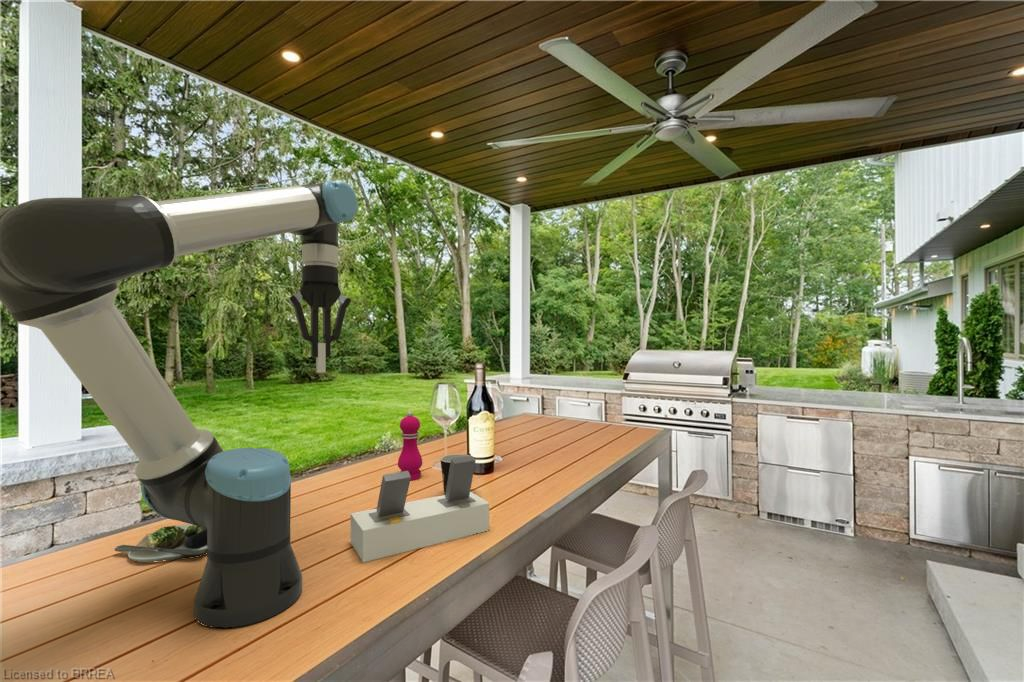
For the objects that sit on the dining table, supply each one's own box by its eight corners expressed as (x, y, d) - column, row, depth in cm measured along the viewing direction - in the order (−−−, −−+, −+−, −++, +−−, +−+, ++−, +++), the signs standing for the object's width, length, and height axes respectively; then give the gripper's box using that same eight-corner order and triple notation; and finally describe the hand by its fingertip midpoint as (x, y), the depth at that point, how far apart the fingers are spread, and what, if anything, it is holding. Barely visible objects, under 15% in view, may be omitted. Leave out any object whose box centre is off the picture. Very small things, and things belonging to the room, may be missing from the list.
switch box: (363, 562, 87) (362, 528, 87) (350, 542, 96) (350, 511, 96) (489, 530, 101) (489, 500, 101) (468, 515, 110) (468, 488, 110)
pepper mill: (403, 473, 144) (402, 408, 144) (425, 474, 143) (425, 409, 143) (394, 480, 137) (393, 412, 136) (417, 481, 136) (417, 413, 135)
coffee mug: (467, 502, 118) (467, 463, 118) (435, 500, 120) (435, 461, 120) (479, 488, 130) (479, 452, 130) (450, 486, 132) (450, 450, 131)
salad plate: (93, 577, 83) (92, 552, 83) (137, 536, 99) (136, 515, 99) (218, 560, 89) (218, 536, 89) (240, 524, 106) (239, 504, 106)
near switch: (378, 517, 92) (385, 481, 88) (376, 510, 94) (383, 474, 90) (403, 512, 95) (410, 477, 91) (400, 505, 96) (408, 470, 92)
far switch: (448, 501, 100) (454, 463, 97) (444, 496, 102) (451, 459, 99) (468, 497, 103) (475, 460, 100) (465, 492, 104) (472, 455, 102)
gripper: (346, 270, 110) (347, 370, 110) (286, 266, 103) (286, 372, 103) (354, 266, 104) (355, 372, 104) (290, 261, 97) (290, 374, 97)
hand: (320, 372), depth 104 cm, fingers closed
